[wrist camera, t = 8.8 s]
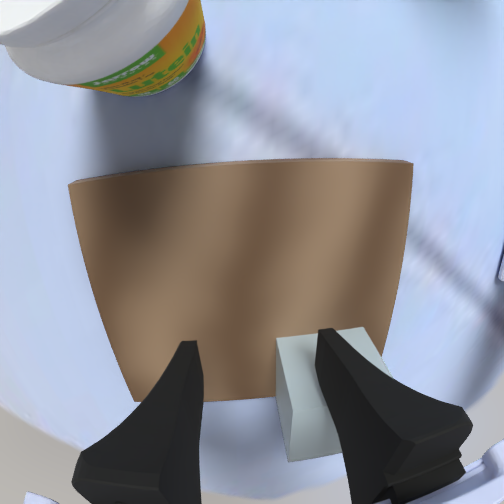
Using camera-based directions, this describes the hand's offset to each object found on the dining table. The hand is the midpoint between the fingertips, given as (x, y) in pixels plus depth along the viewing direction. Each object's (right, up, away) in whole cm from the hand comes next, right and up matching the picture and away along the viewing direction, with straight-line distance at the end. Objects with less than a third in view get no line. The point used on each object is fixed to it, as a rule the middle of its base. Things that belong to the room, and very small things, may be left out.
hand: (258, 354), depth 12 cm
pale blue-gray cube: (+4, -3, +5) cm, 7 cm away
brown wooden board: (0, +2, +4) cm, 4 cm away
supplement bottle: (-5, +13, -1) cm, 14 cm away
